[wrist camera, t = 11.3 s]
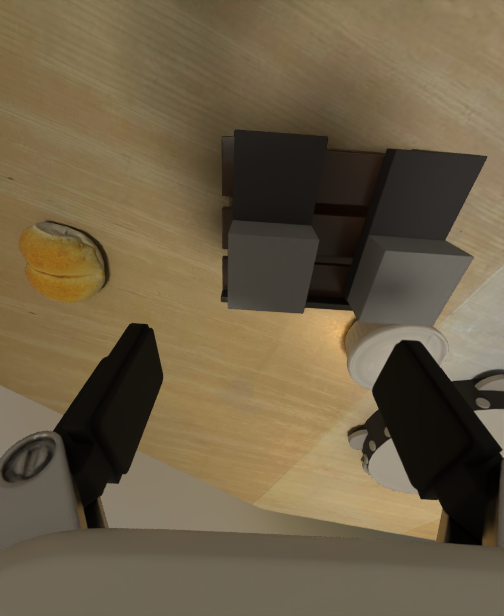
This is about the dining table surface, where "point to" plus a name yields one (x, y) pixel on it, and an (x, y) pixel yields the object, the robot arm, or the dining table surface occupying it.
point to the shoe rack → (323, 218)
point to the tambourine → (380, 448)
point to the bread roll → (62, 262)
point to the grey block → (411, 238)
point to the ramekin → (386, 347)
